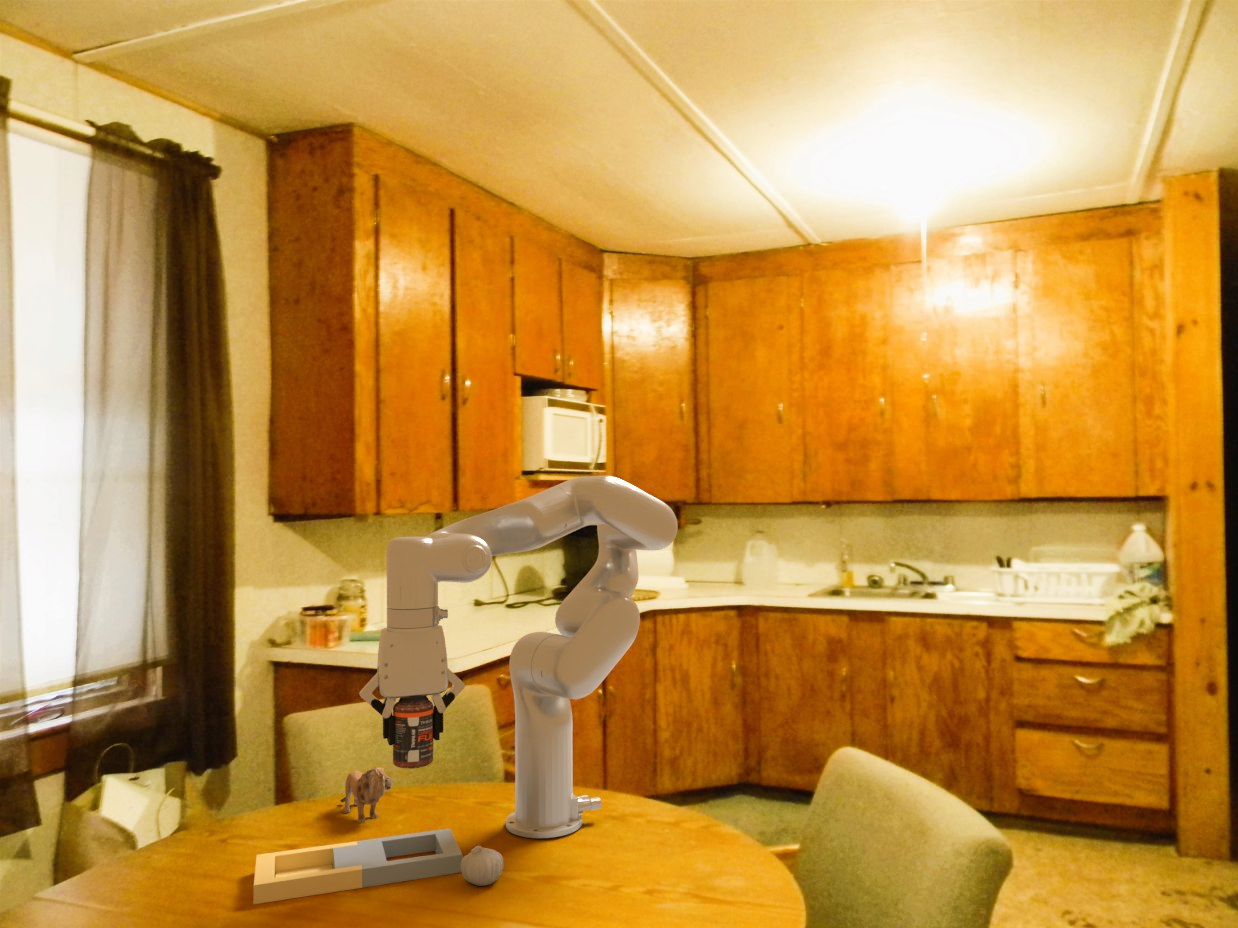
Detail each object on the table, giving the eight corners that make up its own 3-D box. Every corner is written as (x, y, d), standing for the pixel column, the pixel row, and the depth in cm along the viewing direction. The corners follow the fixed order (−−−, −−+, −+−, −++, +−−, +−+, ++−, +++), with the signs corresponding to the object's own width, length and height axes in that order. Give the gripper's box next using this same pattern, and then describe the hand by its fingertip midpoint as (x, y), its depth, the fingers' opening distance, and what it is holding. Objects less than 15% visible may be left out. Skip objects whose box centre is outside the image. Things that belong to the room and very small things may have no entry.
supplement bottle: (423, 770, 127) (423, 692, 128) (385, 769, 128) (385, 691, 129) (440, 758, 133) (439, 683, 134) (403, 757, 134) (403, 682, 135)
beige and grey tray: (449, 844, 137) (449, 828, 138) (462, 872, 127) (462, 854, 127) (256, 872, 128) (256, 854, 128) (253, 904, 117) (253, 885, 117)
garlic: (463, 893, 120) (463, 854, 120) (458, 877, 125) (459, 840, 126) (506, 888, 122) (506, 849, 122) (500, 872, 127) (500, 835, 127)
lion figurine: (397, 820, 148) (397, 766, 149) (369, 829, 144) (369, 773, 145) (353, 800, 158) (354, 750, 159) (326, 808, 155) (326, 756, 155)
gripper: (465, 612, 138) (466, 728, 137) (351, 619, 132) (351, 740, 131) (474, 618, 131) (475, 740, 130) (354, 626, 125) (354, 753, 124)
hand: (413, 739), depth 131 cm, fingers closed on supplement bottle, 6 cm apart
